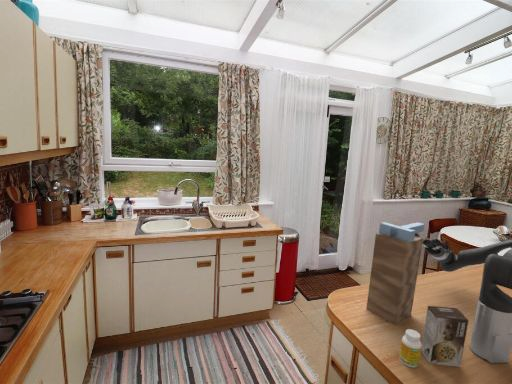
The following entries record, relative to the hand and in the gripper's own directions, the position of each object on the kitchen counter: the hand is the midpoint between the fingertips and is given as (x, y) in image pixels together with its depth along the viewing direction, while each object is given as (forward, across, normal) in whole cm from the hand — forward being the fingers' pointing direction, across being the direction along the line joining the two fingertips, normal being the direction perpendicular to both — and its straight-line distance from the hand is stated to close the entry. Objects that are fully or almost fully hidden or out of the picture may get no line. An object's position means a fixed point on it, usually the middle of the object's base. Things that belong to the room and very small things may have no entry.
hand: (424, 237), depth 122 cm
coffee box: (+13, +23, +40) cm, 48 cm away
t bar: (+15, 0, +4) cm, 16 cm away
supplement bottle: (+22, +18, +45) cm, 53 cm away
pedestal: (+4, 0, +35) cm, 35 cm away
